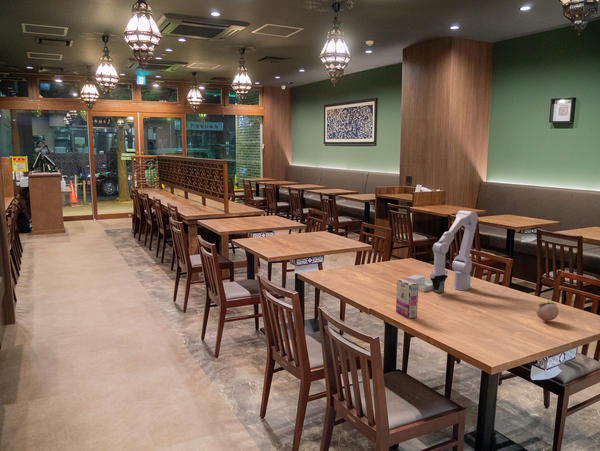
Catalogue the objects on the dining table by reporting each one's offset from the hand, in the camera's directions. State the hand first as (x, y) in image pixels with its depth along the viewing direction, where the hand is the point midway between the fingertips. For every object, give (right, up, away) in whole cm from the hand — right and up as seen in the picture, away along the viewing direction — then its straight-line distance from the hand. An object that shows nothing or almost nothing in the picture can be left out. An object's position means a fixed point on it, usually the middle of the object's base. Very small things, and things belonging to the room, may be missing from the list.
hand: (438, 288), depth 263 cm
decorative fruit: (+37, -10, -44) cm, 58 cm away
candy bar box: (-25, -8, -35) cm, 44 cm away
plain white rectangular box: (-9, 0, +14) cm, 17 cm away
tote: (-7, 0, +12) cm, 14 cm away
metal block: (0, -1, 0) cm, 1 cm away
